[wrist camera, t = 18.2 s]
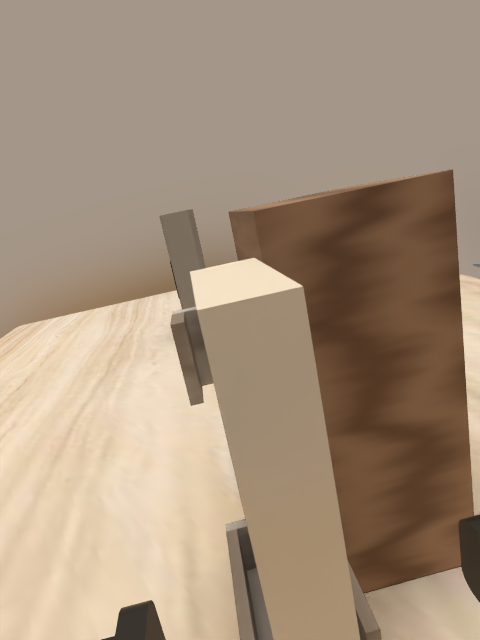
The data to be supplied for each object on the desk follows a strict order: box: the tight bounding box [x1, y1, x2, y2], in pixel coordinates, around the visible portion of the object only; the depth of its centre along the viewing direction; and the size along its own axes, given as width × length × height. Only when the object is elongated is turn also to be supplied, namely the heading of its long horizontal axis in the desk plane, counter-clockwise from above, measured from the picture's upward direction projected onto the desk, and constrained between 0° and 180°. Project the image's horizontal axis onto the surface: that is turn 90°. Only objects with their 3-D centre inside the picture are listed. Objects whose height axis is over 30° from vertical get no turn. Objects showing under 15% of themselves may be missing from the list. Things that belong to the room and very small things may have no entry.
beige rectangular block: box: [190, 258, 360, 640], centre depth 18 cm, size 3×8×18 cm, turn 8°
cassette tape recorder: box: [160, 210, 206, 310], centre depth 86 cm, size 14×6×25 cm, turn 3°
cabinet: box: [171, 170, 474, 640], centre depth 25 cm, size 15×20×24 cm
